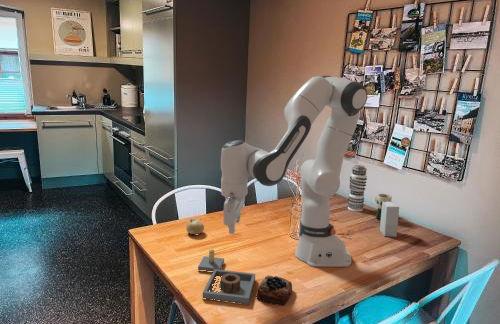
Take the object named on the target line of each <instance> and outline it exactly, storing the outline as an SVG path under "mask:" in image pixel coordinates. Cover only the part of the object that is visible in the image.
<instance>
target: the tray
mask: <svg viewBox="0 0 500 324" xmlns="http://www.w3.org/2000/svg"><path fill="white" fill-rule="evenodd" d="M227 273H228V274H229V273H233V274H235V275H236V274H237V275H238V276H240V289H239V290H238V292H235V293H225V292H223V291H222V290H221V289H220V290H221V291H220V292H218V291H216V292H214V291H215V289H216V288H214V290H212V288H213V286H214V285H213V286H212V284H214V283H215V281H216V280H214V279H216V278H215V277H216V276H220V277H221V276H223V275H224V274H227ZM218 280H219V279H218ZM218 282H219V281H217V282H216V283H218ZM254 282H256V273H254V272H253V273H252V272H244V271H243V272H242V271H234V270H225V269H221V270H217V269H214V271H213V273H211V275H210V276H209V279H208V281H207V283H206V285H205V287H204V288H203V291H202V299H203V298H206V299H213V300H214V299H215V300H220V301H228V302H235V303H241V304H240V305H242V304H249V305H250V302H251V298H250V297H252V294H253V289H254V287H253V286H255V283H254ZM220 283H221V281H220ZM215 286H216V287H217V284H216V285H215ZM219 288H220V284H219ZM209 290H210V292H209ZM217 292H218V293H217ZM249 301H250V302H249Z"/></svg>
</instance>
